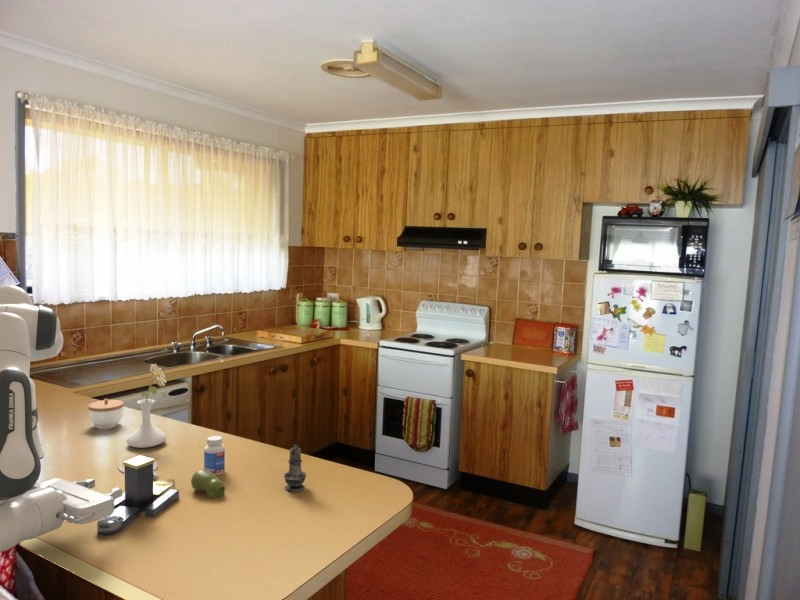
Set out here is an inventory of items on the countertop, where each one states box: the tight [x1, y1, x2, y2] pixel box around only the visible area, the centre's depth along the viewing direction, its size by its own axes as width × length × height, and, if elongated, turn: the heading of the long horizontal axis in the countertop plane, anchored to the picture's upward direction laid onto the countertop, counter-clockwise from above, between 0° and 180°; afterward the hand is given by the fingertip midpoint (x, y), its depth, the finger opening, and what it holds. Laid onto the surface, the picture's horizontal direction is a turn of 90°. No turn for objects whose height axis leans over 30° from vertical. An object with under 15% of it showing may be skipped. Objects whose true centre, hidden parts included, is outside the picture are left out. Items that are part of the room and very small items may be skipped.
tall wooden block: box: [122, 455, 155, 514], centre depth 139 cm, size 5×5×12 cm
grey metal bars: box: [96, 488, 180, 537], centre depth 137 cm, size 21×12×2 cm, turn 171°
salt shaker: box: [283, 443, 307, 494], centre depth 153 cm, size 6×6×12 cm
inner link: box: [153, 477, 176, 501], centre depth 148 cm, size 10×5×2 cm, turn 171°
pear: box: [190, 469, 226, 499], centre depth 149 cm, size 6×5×10 cm
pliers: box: [117, 459, 160, 481], centre depth 161 cm, size 10×2×15 cm
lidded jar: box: [87, 398, 125, 430], centre depth 198 cm, size 11×11×9 cm
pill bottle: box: [203, 435, 226, 476], centre depth 162 cm, size 6×5×10 cm
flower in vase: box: [126, 363, 167, 449], centre depth 181 cm, size 13×11×25 cm
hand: (106, 486), depth 131 cm, fingers open, 8 cm apart
